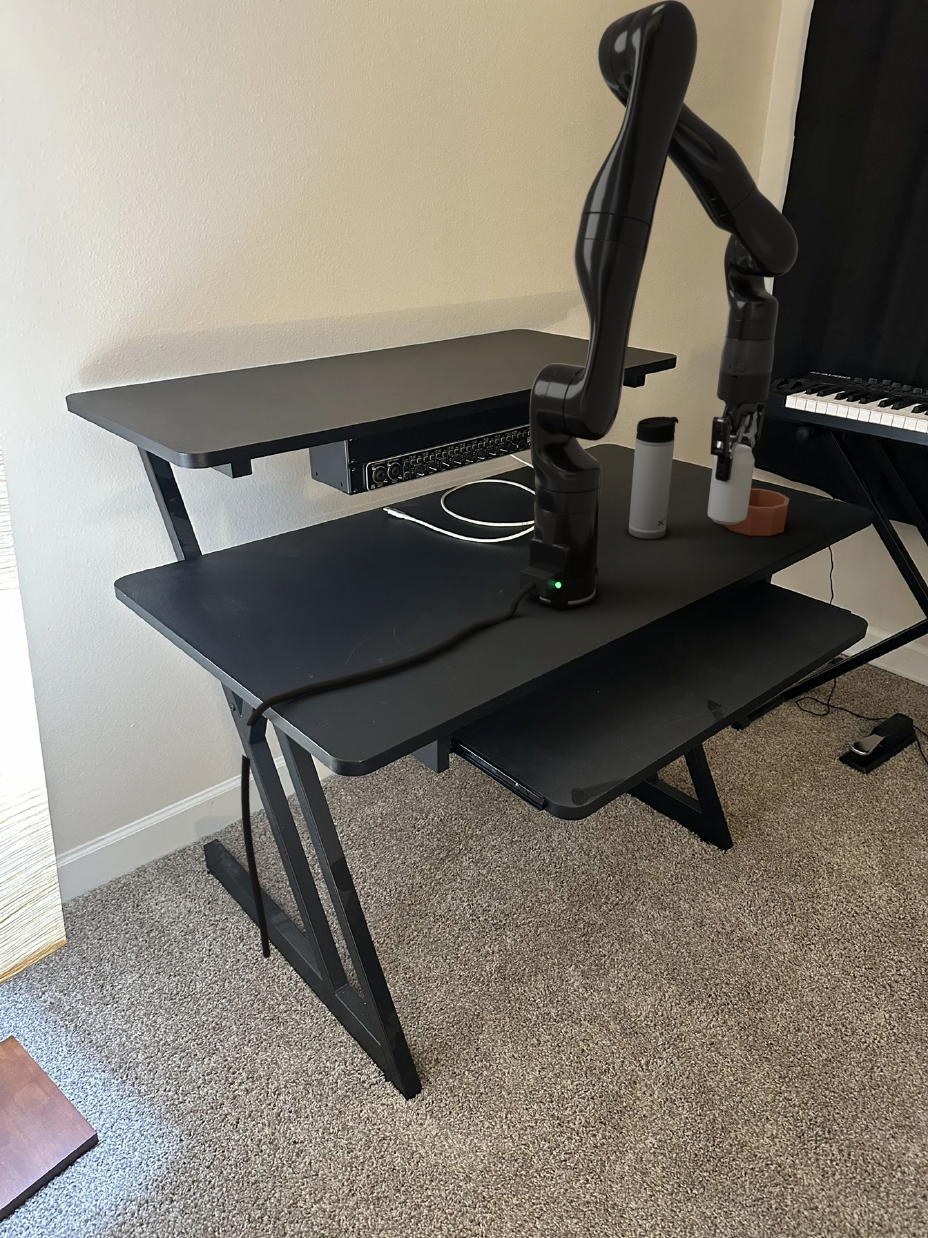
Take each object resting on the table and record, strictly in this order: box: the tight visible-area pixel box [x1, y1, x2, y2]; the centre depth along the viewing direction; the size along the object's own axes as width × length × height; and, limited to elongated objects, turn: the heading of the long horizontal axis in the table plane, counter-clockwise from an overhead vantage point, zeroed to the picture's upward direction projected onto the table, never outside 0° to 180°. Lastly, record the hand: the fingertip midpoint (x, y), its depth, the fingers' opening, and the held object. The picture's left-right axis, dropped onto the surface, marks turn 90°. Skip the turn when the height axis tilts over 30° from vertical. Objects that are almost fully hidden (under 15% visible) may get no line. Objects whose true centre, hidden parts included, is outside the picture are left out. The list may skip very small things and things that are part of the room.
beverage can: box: [707, 443, 756, 525], centre depth 143 cm, size 6×6×12 cm
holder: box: [721, 488, 790, 537], centre depth 157 cm, size 10×11×5 cm
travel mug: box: [628, 416, 679, 540], centre depth 151 cm, size 6×7×20 cm
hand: (732, 474), depth 142 cm, fingers closed on beverage can, 6 cm apart
